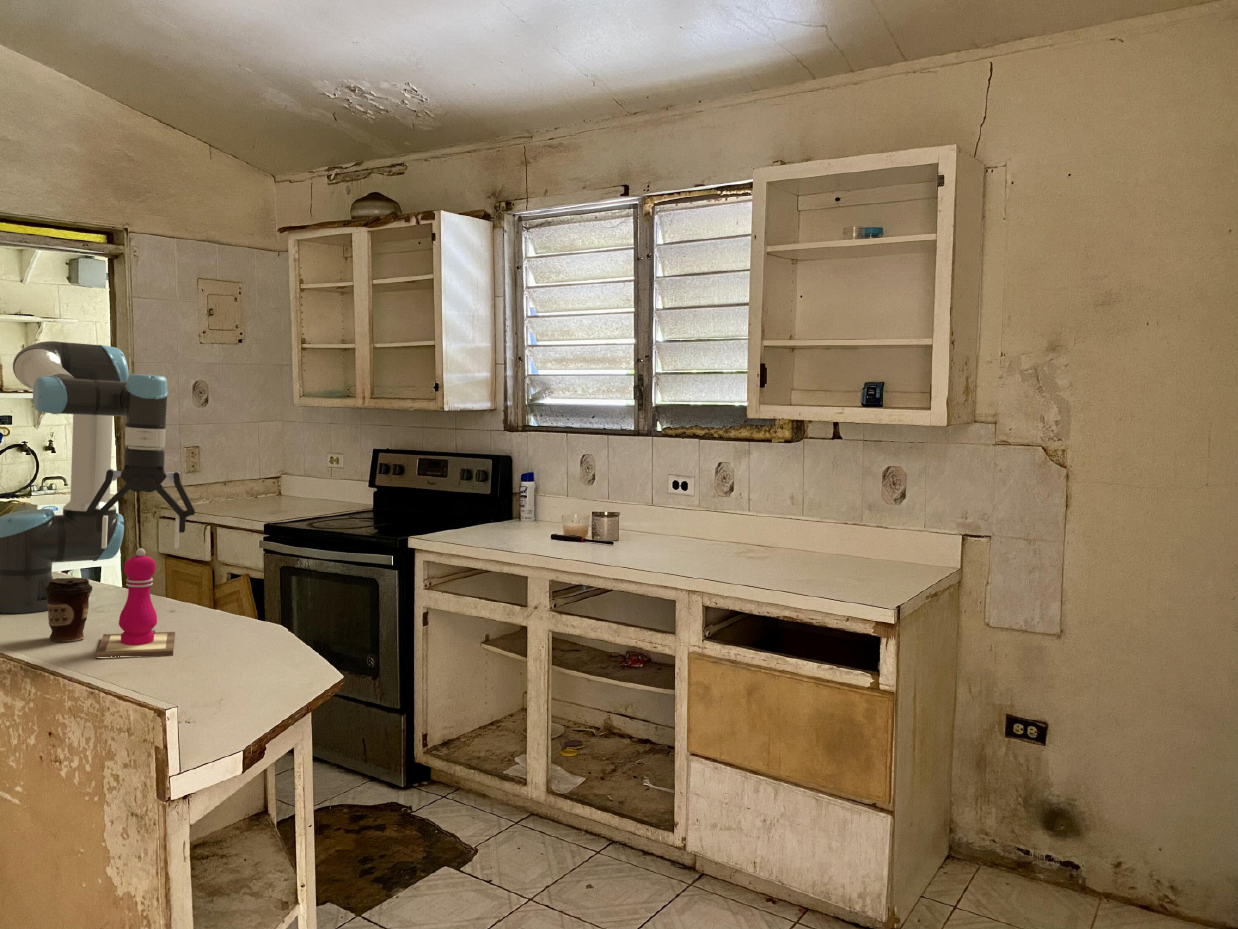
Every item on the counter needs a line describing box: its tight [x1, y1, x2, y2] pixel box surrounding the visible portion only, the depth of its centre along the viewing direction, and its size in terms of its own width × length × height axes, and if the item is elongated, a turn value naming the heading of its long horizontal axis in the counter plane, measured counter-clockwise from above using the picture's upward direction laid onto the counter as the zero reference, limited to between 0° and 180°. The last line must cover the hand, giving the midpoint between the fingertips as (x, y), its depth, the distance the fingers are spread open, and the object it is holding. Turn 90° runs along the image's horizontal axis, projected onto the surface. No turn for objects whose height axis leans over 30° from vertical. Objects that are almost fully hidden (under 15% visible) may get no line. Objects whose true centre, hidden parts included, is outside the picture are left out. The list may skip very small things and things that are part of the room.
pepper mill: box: [118, 548, 158, 645], centre depth 193 cm, size 7×7×20 cm
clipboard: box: [95, 628, 176, 658], centre depth 194 cm, size 16×14×2 cm
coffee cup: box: [46, 577, 93, 642], centre depth 196 cm, size 9×8×13 cm
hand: (140, 547), depth 193 cm, fingers open, 13 cm apart
